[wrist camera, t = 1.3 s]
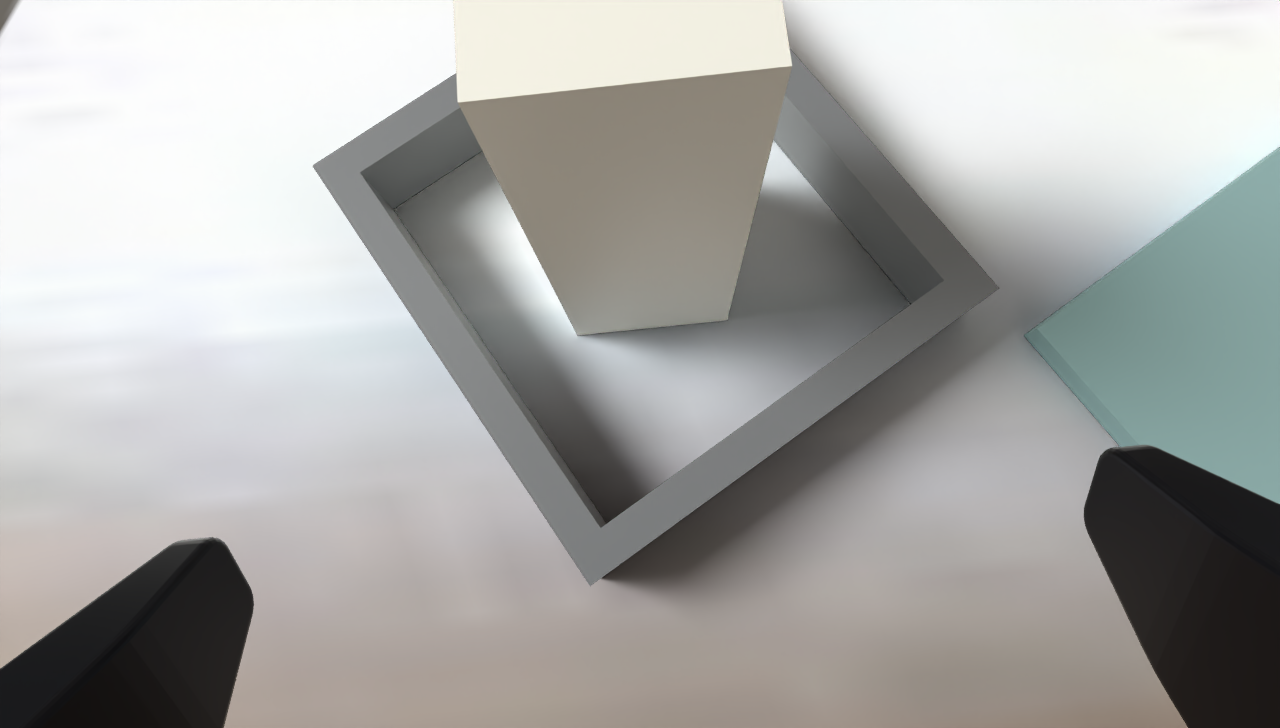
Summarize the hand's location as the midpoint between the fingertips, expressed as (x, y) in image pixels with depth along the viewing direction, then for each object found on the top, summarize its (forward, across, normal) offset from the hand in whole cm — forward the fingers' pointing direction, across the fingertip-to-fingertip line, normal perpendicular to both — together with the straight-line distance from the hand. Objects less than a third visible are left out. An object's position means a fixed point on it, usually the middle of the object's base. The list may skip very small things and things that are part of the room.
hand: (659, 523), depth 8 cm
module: (+15, 0, +4) cm, 16 cm away
